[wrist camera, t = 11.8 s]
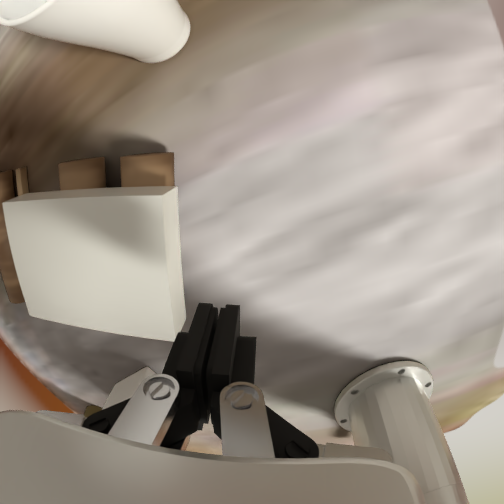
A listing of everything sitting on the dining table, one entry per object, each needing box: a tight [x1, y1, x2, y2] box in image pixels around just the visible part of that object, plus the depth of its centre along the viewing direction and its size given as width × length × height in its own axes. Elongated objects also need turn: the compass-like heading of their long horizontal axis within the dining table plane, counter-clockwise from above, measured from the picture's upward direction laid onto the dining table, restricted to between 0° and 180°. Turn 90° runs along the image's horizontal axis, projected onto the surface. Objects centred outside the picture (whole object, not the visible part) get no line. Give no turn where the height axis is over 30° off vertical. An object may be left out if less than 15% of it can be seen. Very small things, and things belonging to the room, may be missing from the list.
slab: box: [2, 186, 186, 342], centre depth 20 cm, size 10×14×3 cm
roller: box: [0, 170, 25, 304], centre depth 24 cm, size 14×4×4 cm, turn 179°
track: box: [15, 152, 175, 196], centre depth 23 cm, size 14×23×4 cm, turn 89°
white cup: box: [0, 0, 190, 63], centre depth 11 cm, size 7×7×15 cm
